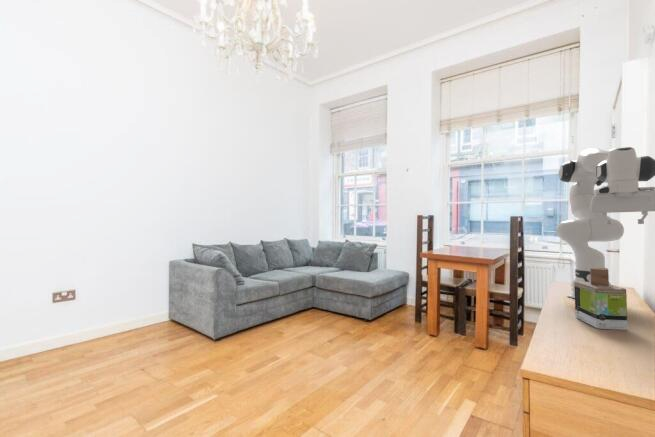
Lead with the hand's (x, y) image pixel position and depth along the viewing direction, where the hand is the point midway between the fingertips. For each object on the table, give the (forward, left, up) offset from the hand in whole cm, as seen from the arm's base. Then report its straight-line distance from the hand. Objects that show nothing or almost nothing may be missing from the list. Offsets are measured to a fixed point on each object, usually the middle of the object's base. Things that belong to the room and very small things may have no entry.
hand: (624, 224), depth 127 cm
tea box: (+10, -9, -37) cm, 40 cm away
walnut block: (+10, -9, -22) cm, 26 cm away
